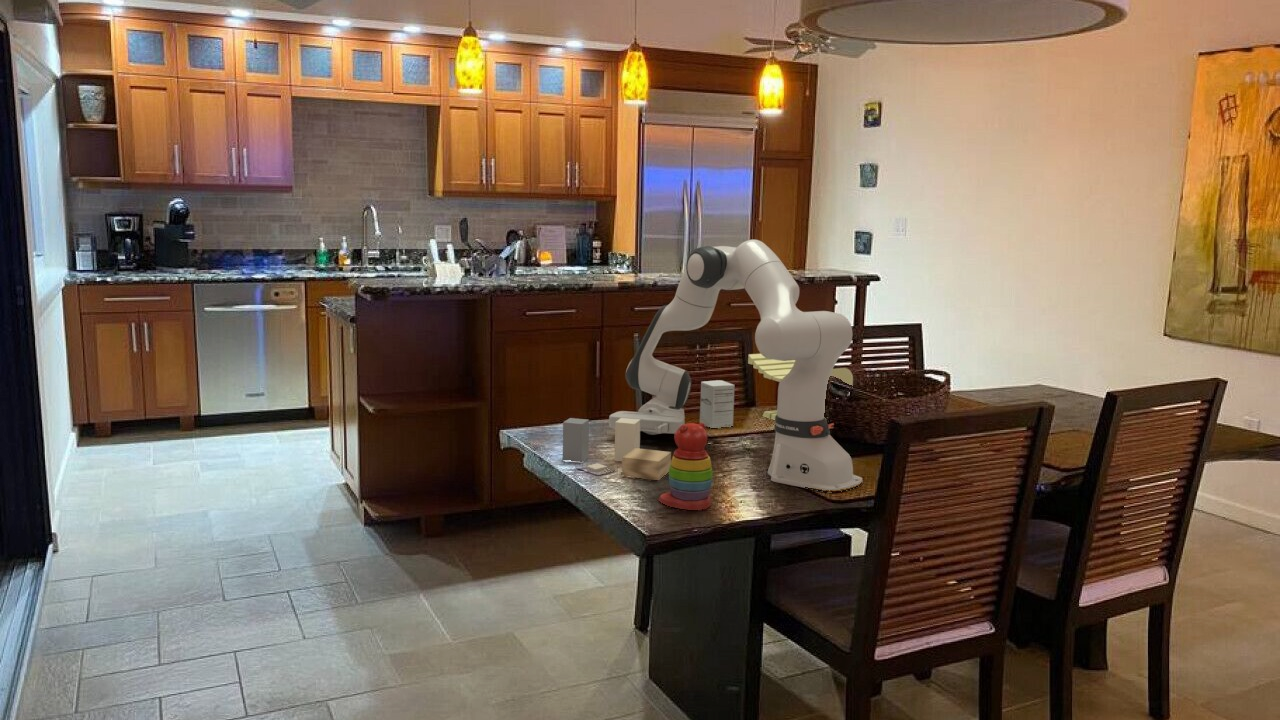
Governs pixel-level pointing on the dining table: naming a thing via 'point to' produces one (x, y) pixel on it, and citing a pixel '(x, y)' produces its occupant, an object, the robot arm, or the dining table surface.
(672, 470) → the stacking bear
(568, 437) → the grey block
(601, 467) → the card
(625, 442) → the cream block
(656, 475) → the oak pedestal
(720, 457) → the dining table surface
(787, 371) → the slatted curved stool
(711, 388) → the supplement box
